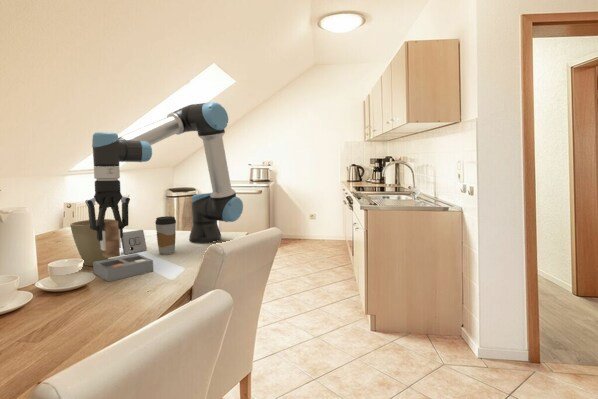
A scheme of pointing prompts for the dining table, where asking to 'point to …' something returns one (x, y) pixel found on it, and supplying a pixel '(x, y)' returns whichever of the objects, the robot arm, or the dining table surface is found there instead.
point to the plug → (111, 239)
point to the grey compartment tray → (122, 267)
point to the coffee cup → (166, 234)
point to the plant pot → (87, 242)
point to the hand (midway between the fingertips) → (110, 248)
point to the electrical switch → (133, 241)
